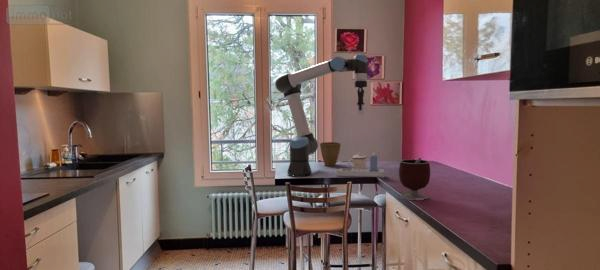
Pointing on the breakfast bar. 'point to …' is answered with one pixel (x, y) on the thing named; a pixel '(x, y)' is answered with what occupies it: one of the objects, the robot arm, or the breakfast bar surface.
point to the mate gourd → (414, 177)
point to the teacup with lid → (358, 161)
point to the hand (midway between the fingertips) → (360, 115)
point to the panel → (360, 173)
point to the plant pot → (330, 152)
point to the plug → (373, 162)
